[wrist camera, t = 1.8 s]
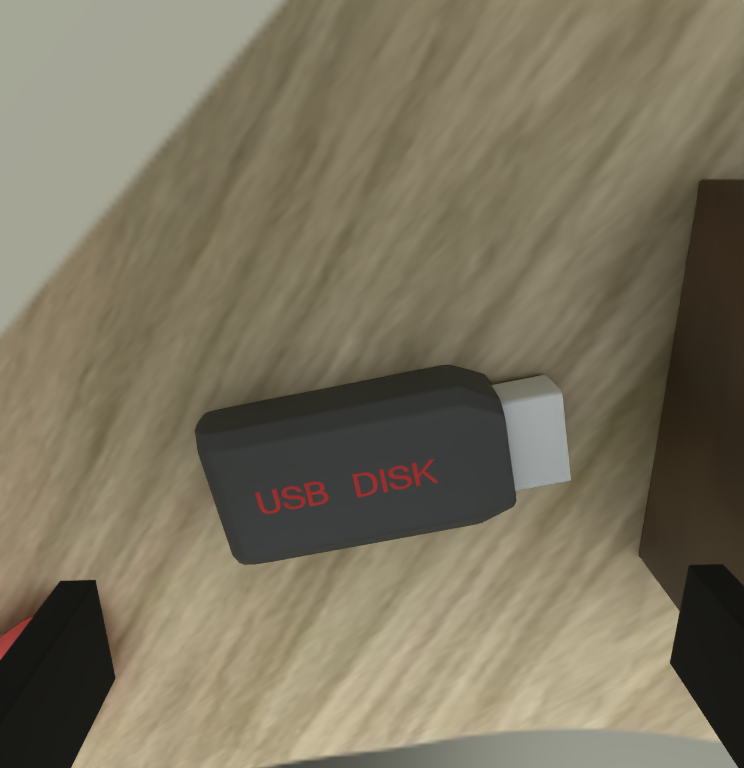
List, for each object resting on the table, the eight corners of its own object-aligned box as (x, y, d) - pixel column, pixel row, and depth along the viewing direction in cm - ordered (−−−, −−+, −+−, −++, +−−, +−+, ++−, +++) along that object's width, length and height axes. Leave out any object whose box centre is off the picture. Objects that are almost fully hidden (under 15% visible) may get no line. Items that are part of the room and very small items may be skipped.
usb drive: (203, 412, 20) (180, 446, 18) (540, 345, 20) (567, 370, 17) (243, 535, 22) (227, 582, 20) (554, 478, 22) (581, 518, 19)
